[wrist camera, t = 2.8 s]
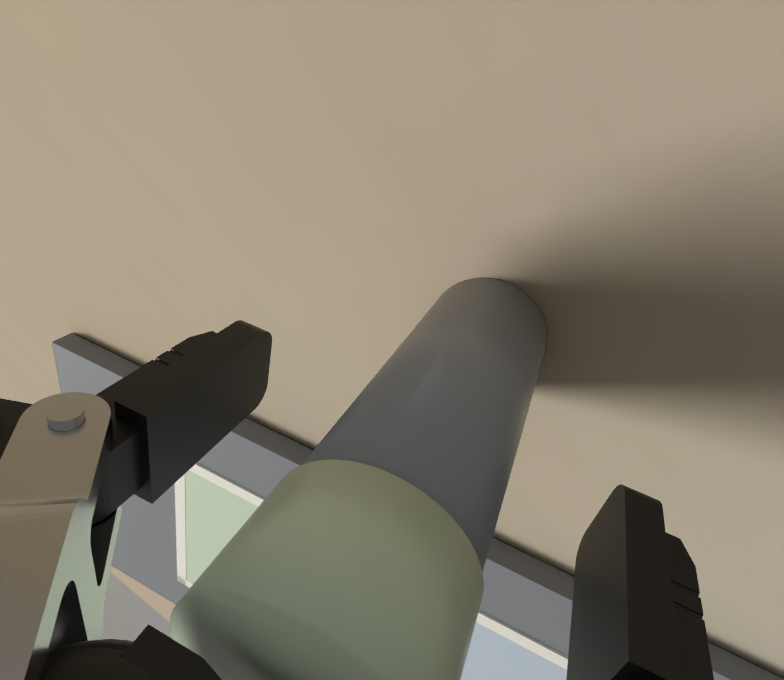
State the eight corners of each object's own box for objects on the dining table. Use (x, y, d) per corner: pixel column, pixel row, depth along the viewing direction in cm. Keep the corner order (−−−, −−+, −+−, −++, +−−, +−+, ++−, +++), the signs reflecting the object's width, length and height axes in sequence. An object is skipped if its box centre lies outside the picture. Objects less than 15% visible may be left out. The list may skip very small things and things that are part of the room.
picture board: (1025, 796, 15) (1090, 913, 13) (726, 910, 24) (736, 992, 22) (71, 332, 23) (16, 358, 21) (103, 540, 32) (66, 573, 30)
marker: (571, 302, 14) (478, 720, 5) (523, 405, 16) (394, 834, 7) (445, 256, 15) (165, 540, 6) (414, 359, 17) (173, 689, 8)
